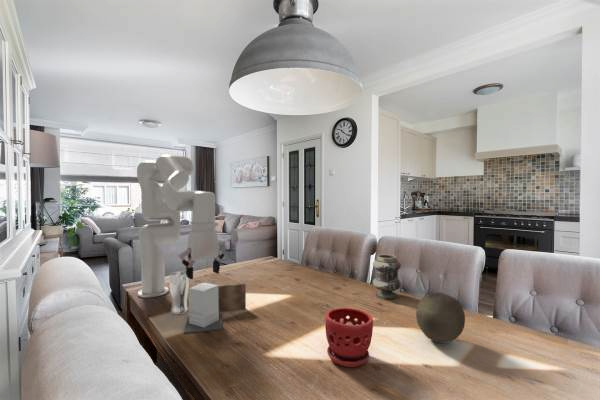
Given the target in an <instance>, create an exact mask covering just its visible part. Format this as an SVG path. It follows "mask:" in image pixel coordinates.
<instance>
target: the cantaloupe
mask: <svg viewBox="0 0 600 400" xmlns="http://www.w3.org/2000/svg"><path fill="white" fill-rule="evenodd" d="M464 310H465V309H464V308H463V307H462V305H461V303H460V302H459V301H458V300H457V299H456V298H454V297H453V296H451V295H449V294H447V293H444V292H431V293H428V294H426V295H424V296H422V298H421V299H420V300H419V302H418V306H417V309H416V312H415V318H416V323H417V325H418V326H419V329H420V330H421V332H422V333H423V335H424V336H425V337H426V338H428V339H429V340H430V341H433V342H434V343H435V342H436V343H440V344H445V343H449V342H452V341H454V340H456V339H458V338H459V336H461V334H462V333H463V331H464V328H465V325H466V324H465V323H466V314H465V311H464Z"/></svg>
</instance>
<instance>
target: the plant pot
mask: <svg viewBox="0 0 600 400" xmlns="http://www.w3.org/2000/svg"><path fill="white" fill-rule="evenodd" d="M347 317H348V318H347ZM341 319H342V320H343V321H341ZM356 320H357V321H356ZM324 322H325V326H324V327H325V328H324V329H325V336H326V340H327V343H328V346H327V350H326V352H327V355H328V357H329V358H330V360H332V362H334V363H335V364H337V365H341V366H342V367H349V368H352V367H354V368H355V367H359V366H362V365H364V364H365V363H366V362H367V361H368V360H369V359H370V352H369V351H368V350H369V349H370V346H371V343H372V340H373V339H372V337H373V329H374V318H373V317H372V315H370V314H369V313H367V312H366V311H364V310H360V309H357V308H351V307H339V308H333V309H331V310H329V311H327V312H326V315H325V321H324ZM347 323H351V324H347Z"/></svg>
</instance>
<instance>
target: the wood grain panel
mask: <svg viewBox="0 0 600 400" xmlns="http://www.w3.org/2000/svg"><path fill="white" fill-rule="evenodd" d="M217 285H218V284H217ZM246 293H247V292H246V283H245V282H244V283H242V282H241V283H231V284H220V285H218V304H219V313H222V312H231V311H243V310H246V309H247V308H246V302H247V301H246V298H247V295H246Z"/></svg>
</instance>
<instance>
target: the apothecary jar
mask: <svg viewBox="0 0 600 400" xmlns="http://www.w3.org/2000/svg"><path fill="white" fill-rule="evenodd" d="M372 266H373V267H374V268H375V278H374V279H372V284H373V286H374V287H375V288H376V289H377V290H378V291H376V292H375V294H374V295H375V297H377V298H378V299H381V300H388V301H390V300H391V301H392V300H396V299H398V298H399V294H397V293H396V292H394V291H398V290H400V288H401V286H402V284H401V281H400V280H399V275H398V272H399V270H400V269H401V266H402V265H401V263H400V262H399V260H398V258H397V256H396V255H394V254H378V255H377V256H376V259H375V260H374V261H373V263H372Z"/></svg>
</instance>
